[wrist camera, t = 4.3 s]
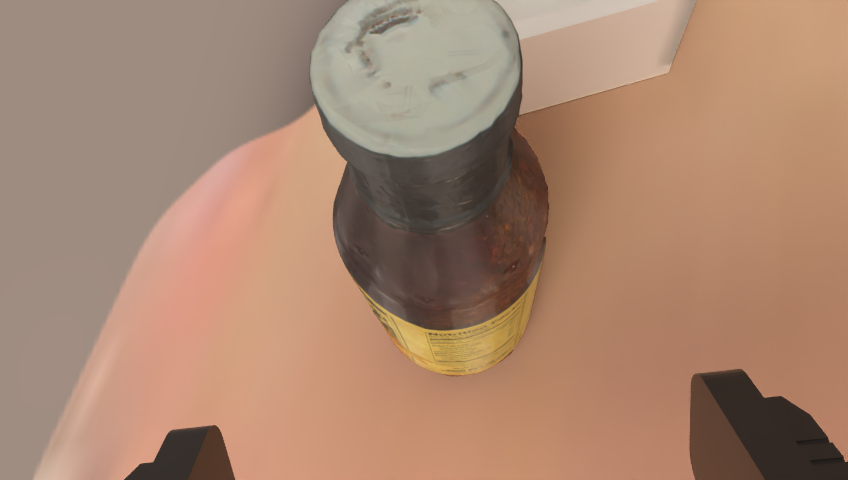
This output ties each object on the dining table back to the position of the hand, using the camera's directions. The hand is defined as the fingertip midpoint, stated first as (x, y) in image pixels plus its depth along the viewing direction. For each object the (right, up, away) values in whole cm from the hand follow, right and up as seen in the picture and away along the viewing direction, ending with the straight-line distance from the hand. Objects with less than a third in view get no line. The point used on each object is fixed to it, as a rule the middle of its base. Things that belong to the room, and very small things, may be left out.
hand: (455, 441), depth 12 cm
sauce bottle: (+1, 0, +20) cm, 20 cm away
